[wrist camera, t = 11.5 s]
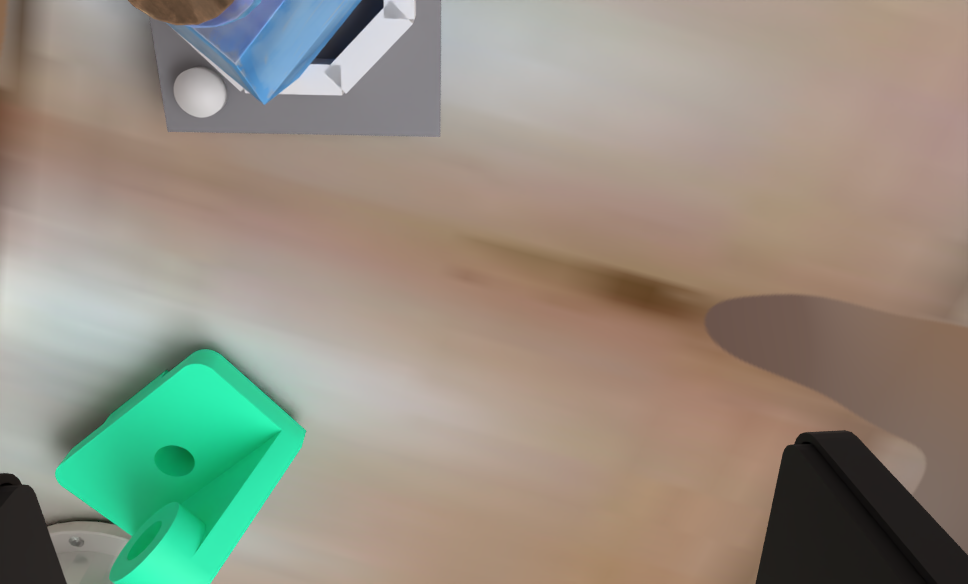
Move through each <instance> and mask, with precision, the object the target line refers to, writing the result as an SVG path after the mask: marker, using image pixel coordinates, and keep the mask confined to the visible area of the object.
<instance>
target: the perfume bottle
mask: <svg viewBox="0 0 968 584" xmlns="http://www.w3.org/2000/svg"><path fill="white" fill-rule="evenodd" d="M128 1H129V2H130V3H131V4H132V5H133V6H134V7H136V8H137V9H139V10H141V11H142V12H144V13H145V14H147V15H149V16H150V17H152V18H153V19H156V20H159V21H163V22H165V23H167V24H168V25H169V26H170V27H171V28H173V29H174V30H175V31H176V32H177V33H178V34H180V35H181V36H182V37H183V38H184V39H186V40H187V41H188V42H189V43H190V44H192V45H193V46H194V47H195V48H196V49H198V50H199V51H200V52H201V53H202V54H204V55H205V56H206V57H207V58H208V59H210V60H211V61H212V62H213V63H214V64H216V65H217V66H218V67H219V68H220V69H222V70H223V71H224V72H225V73H226V74H228V75H229V76H230V77H231V78H232V79H234V80H235V81H236V82H237V83H238V84H239V85H241V86H242V87H243V88H244V89H245V90H247V91H248V92H249V93H250V94H251V95H253V96H254V97H255V98H256V99H257V100H259V101H260V102H261V103H262V104H263V105H265V104H266V103H268V102H269V101H270V100H272V99H273V98H274V97H275V96H277V95H278V94H279V93H280V92H282V91H283V90H284V89H286V88H287V87H288V86H289V85H291V84H292V83H293V82H295V81H296V80H297V79H298V78H299V77H300V76H301V75H302V74H303V72H304V71H305V70H306V69H307V67H308V66H309V65H310V64H311V63H312V61H313V60H314V59H315V58H316V56H317V55H318V54H319V53H320V51H321V50H322V49H323V48H324V46H325V45H326V44H327V43H328V42H329V40H330V39H331V38H332V37H333V35H334V34H335V33H336V32H337V30H338V29H339V28H340V27H341V25H342V24H343V23H344V22H345V20H346V19H347V18H348V17H349V16H350V14H351V13H352V12H353V11H354V9H355V8H356V7H357V6H358V4H359V3H360V2H361V1H362V0H128Z"/></svg>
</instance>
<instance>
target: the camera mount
mask: <svg viewBox="0 0 968 584" xmlns="http://www.w3.org/2000/svg"><path fill="white" fill-rule="evenodd" d="M305 433H306V430H305V429H304V428H303V427H301V426H300V425H299V424H298V423H297V422H296V421H295V420H294V419H292V418H291V417H290V416H289V415H288V414H287V413H286V412H285V411H284V410H282V409H281V408H280V407H279V406H278V405H277V404H276V403H275V402H273V401H272V400H271V399H270V398H269V397H268V396H267V395H266V394H264V393H263V392H262V391H261V390H260V389H259V388H258V387H257V386H255V385H254V384H253V383H252V382H251V381H250V380H249V379H248V378H246V377H245V376H244V375H243V374H242V373H241V372H240V371H239V370H238V369H236V368H235V367H234V366H233V365H232V364H231V363H230V362H229V361H227V360H226V359H225V358H224V357H223V356H222V355H221V354H219V353H218V352H216V351H213V350H209V349H202V350H198V351H195V352H194V353H192V354H191V355H190V356H188V357H187V358H186V359H185V360H183V361H182V362H181V363H180V364H178V365H177V366H176V367H175V368H173V369H172V370H171V371H170V372H168V371H167V370H166V371H164V372H163V373H162V374H161V375H159V376H158V377H157V378H156V379H154V380H153V381H152V382H151V383H149V384H148V385H147V386H146V387H144V388H143V389H142V390H140V391H139V392H138V393H137V394H135V395H134V396H133V397H132V398H130V399H129V400H128V401H127V402H125V403H124V404H123V405H122V406H120V407H119V408H118V409H117V410H115V411H114V412H113V413H111V414H110V415H109V417H108V418H107V420H106V421H105V422H104V424H103V425H101V426H100V427H99V428H97V429H96V430H95V431H94V432H92V433H91V434H90V435H89V436H87V437H86V438H85V439H84V440H82V441H81V442H80V443H79V444H77V445H76V446H75V447H73V448H72V449H71V450H70V452H69V453H68V454H67V456H66V457H65V458H64V460H63V461H62V462H61V464H60V465H59V466H58V467H57V469H56V472H55V476H56V479H57V481H58V482H59V484H60V485H61V486H63V487H64V488H65V489H67V490H68V491H69V492H71V493H72V494H74V495H75V496H76V497H78V498H79V499H81V500H82V501H83V502H85V503H86V504H88V505H89V506H90V507H92V508H93V509H95V510H96V511H97V512H99V513H100V514H102V515H103V516H104V517H106V518H107V519H109V520H110V521H111V522H113V523H114V524H116V525H117V526H118V527H120V528H121V529H123V530H124V531H125V532H127V533H128V534H130V535H131V536H132V537H131V539H130V540H129V541H128V543H127V544H126V545H125V547H124V548H123V549H122V551H121V552H120V554H119V555H118V557H117V559H116V560H115V562H114V564H113V566H112V568H111V571H110V574H109V580H110V581H111V582H113V583H114V584H210V583H211V582H212V580H213V579H214V578H215V576H216V575H217V573H218V572H219V570H220V569H221V567H222V566H223V564H224V563H225V561H226V560H227V558H228V557H229V555H230V554H231V552H232V551H233V549H234V548H235V546H236V545H237V543H238V542H239V540H240V539H241V537H242V536H243V534H244V533H245V531H246V530H247V528H248V527H249V525H250V524H251V522H252V521H253V519H254V518H255V516H256V515H257V513H258V512H259V510H260V509H261V507H262V506H263V504H264V503H265V501H266V500H267V498H268V497H269V495H270V494H271V492H272V491H273V489H274V488H275V486H276V485H277V483H278V482H279V480H280V479H281V477H282V476H283V474H284V473H285V471H286V470H287V468H288V467H289V465H290V464H291V462H292V461H293V459H294V458H295V456H296V455H297V453H298V452H299V450H300V449H301V447H302V444H303V440H304V437H305ZM181 447H182V448H181Z"/></svg>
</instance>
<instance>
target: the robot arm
mask: <svg viewBox="0 0 968 584" xmlns="http://www.w3.org/2000/svg"><path fill="white" fill-rule="evenodd" d="M131 537H132V536H131V535H130V534H128V533H127V532H125V531H124V530H123V529H121V528H120V527H118V526H117V525H115V524H109V523H102V522H88V521H74V522H66V523H59V524H54V525H51V526H47V525H46V523H45V520H44V517H43V514H42V511H41V508H40V505H39V503H38V500H37V497H36V494H35V492H34V490H33V489H32V488H31V487H30V486H29V485H22V484H21V482H20V480H19V479H18V478H17V477H16V476H15V475H13V474H8V473H2V474H0V584H114V583H113V582H111V581H110V580H109V574H110V571H111V568H112V566H113V564H114V562H115V560H116V559H117V557H118V555H119V554H120V552H121V551H122V549H123V548H124V547H125V545H126V544H127V543H128V541H129V540H130V539H131ZM756 584H968V555H967V554H966V553H965V552H964V551H963V550H962V549H961V548H960V546H958V544H957V543H956V542H955V541H954V540H953V539H952V538H951V537H950V536H949V535H948V534H947V533H946V532H945V530H944V529H943V528H941V526H940V525H939V524H938V523H937V522H936V521H935V520H934V519H933V518H932V517H931V515H930V514H929V513H928V512H927V511H926V510H925V509H924V508H923V507H922V506H921V505H920V504H919V503H918V502H917V501H916V499H915V498H914V497H913V496H912V495H911V494H910V493H909V492H908V491H907V490H906V489H905V488H904V486H903V485H902V484H901V483H900V482H899V481H898V480H897V479H896V478H895V477H894V476H893V475H892V474H891V473H890V471H889V470H888V469H887V468H886V467H885V466H884V465H883V464H882V463H881V462H880V461H879V460H878V459H877V458H876V456H875V455H874V454H873V453H872V452H871V451H870V450H869V449H868V448H867V447H866V446H865V445H864V444H863V443H862V442H861V440H860V439H859V438H858V437H857V436H855V435H854V434H853V433H852V432H849V431H845V430H844V431H824V432H805V433H802V434H800V435H799V436H798V437H797V439H796V441H795V444H794V445H788V446H787V447H786V448H785V449H784V452H783V455H782V460H781V465H780V469H779V474H778V479H777V484H776V489H775V493H774V498H773V503H772V508H771V513H770V517H769V522H768V527H767V532H766V537H765V541H764V546H763V551H762V556H761V560H760V565H759V570H758V575H757V580H756Z"/></svg>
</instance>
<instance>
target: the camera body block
mask: <svg viewBox="0 0 968 584" xmlns="http://www.w3.org/2000/svg"><path fill="white" fill-rule="evenodd" d="M149 17H150V16H149ZM150 23H151V30H152V36H153V42H154V48H155V55H156V61H157V67H158V73H159V80H160V86H161V92H162V98H163V105H164V111H165V117H166V123H167V130H168V132H216V133H269V134H322V135H375V136H428V137H440V97H441V0H362V1H361V2H360V3H359V4H358V6H357V7H356V8H355V9H354V11H353V12H352V13H351V14H350V16H349V17H348V18H347V19H346V20H345V22H344V23H343V24H342V25H341V27H340V28H339V29H338V30H337V32H336V33H335V34H334V35H333V37H332V38H331V39H330V40H329V42H328V43H327V44H326V45H325V46H324V48H323V49H322V50H321V51H320V53H319V54H318V55H317V56H316V58H315V59H314V60H313V61H312V63H311V64H310V65H309V66H308V67H307V69H306V70H305V71H304V72H303V74H302V75H301V76H300V77H299V78H298V79H297V80H296V81H295V82H293V83H292V84H291V85H289V86H288V87H287V88H286V89H284V90H283V91H282V92H280V93H279V94H278V95H277V96H275V97H274V98H273V99H272V100H270V101H269V102H268V103H266V104H265V105H263V104H262V103H261V102H260V101H259V100H257V99H256V98H255V97H254V96H253V95H251V94H250V93H249V92H248V91H247V90H245V89H244V88H243V87H242V86H241V85H239V84H238V83H237V82H236V81H235V80H234V79H232V78H231V77H230V76H229V75H228V74H226V73H225V72H224V71H223V70H222V69H220V68H219V67H218V66H217V65H216V64H214V63H213V62H212V61H211V60H210V59H208V58H207V57H206V56H205V55H204V54H202V53H201V52H200V51H199V50H198V49H196V48H195V47H194V46H193V45H192V44H190V43H189V42H188V41H187V40H186V39H184V38H183V37H182V36H181V35H180V34H178V33H177V32H176V31H175V30H174V29H173V28H171V27H170V26H169V25H168V24H167V23H165V22H163V21H159V20H156V19H153V18H152V17H150Z"/></svg>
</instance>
